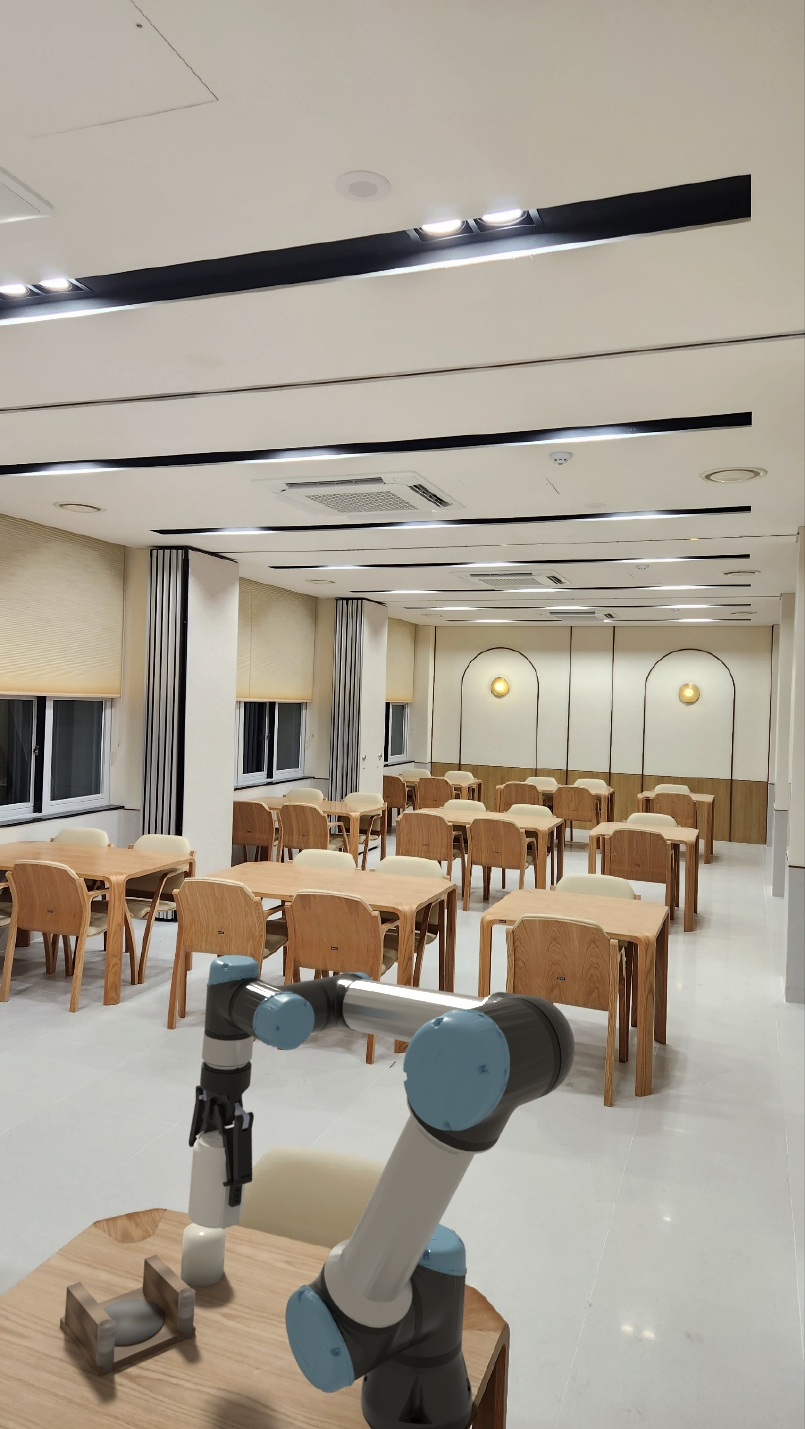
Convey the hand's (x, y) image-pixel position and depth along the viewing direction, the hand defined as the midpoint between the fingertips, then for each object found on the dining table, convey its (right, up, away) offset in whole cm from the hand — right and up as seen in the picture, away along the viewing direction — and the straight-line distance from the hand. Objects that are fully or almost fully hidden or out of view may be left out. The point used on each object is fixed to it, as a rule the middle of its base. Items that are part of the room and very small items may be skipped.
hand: (215, 1211), depth 136 cm
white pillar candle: (-5, -18, +14) cm, 24 cm away
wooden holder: (-13, -17, -1) cm, 22 cm away
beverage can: (0, -1, 0) cm, 1 cm away
